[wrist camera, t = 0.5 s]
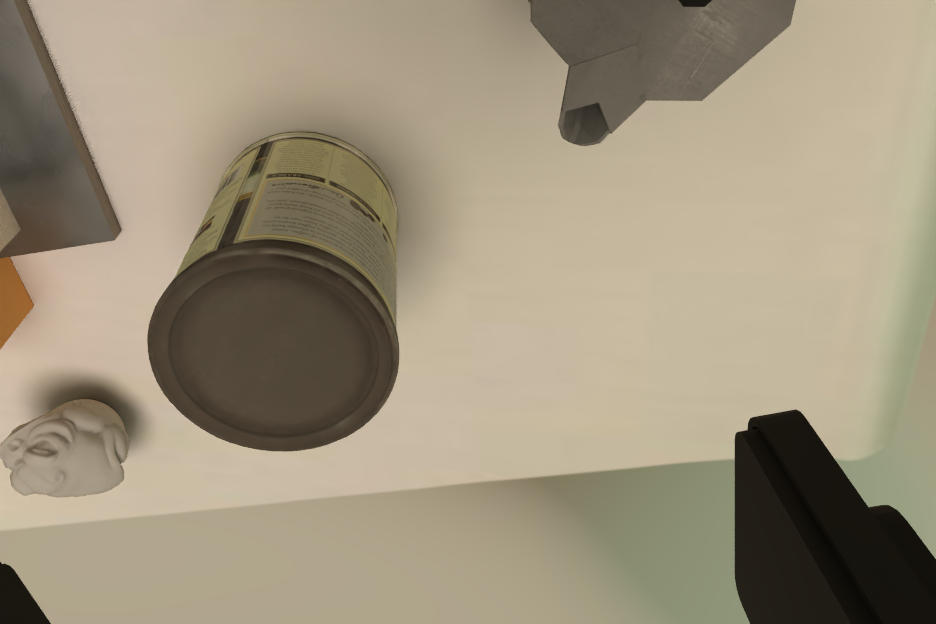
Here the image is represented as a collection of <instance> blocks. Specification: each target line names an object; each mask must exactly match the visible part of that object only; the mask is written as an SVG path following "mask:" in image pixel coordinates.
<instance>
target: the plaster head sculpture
mask: <svg viewBox="0 0 936 624" xmlns="http://www.w3.org/2000/svg"><path fill="white" fill-rule="evenodd" d="M128 449H129V437H128V435H127V433H126V431H125V427H124V424H123V422H122V420H121V418H120V417H119V415H118V414H117V413H116V412H115V411H114V410H113V409H112V408H111V407H109V406H108V405H106V404H104V403H102V402H99V401H96V400H90V399H78V400H73V401H69V402H66V403H64V404H62V405H60V406H58V407H57V408H55V409H54V410H52V411H50V412H48V413H46V414H44V415H42V416H40V417H38V418H36V419H33V420H31V421H30V422H28V423H25V424H23V425H20V426H18V427H17V428H16V429H14V430H13V431H12V433H11V434H10V435H9V436H8V437H7V438H6V439H5V440H4V441H3V442H2V443H1V445H0V458H1V459H2V460H3V463H4V465H5V467H6V468H9V469H11V470H12V472H11V475H10V479H11V485H12V487H13V488H14V489H15V490H16V491H17V492H19V493H20V494H22V495H25V496H26V495H30V494H33V493H34V494H45V495H48V496H52V497H78V496H86V495H93V494H99V493H103V492H106V491H108V490H111V489H113V488H114V487H116V486H117V485H119V484H120V483H121V482H122V481H123V479H124V471H123V468H122V466H121V463H122V462H124V461H125V460H126V458H127V454H128Z"/></svg>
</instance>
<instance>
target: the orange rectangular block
mask: <svg viewBox="0 0 936 624" xmlns="http://www.w3.org/2000/svg"><path fill="white" fill-rule="evenodd" d="M33 306H34V305H33V303H32V301H31V299H30V297H29V295H28V293H27V291H26V289H25V287H24V285H23V283H22V281H21V279H20V277H19V275H18V273H17V271H16V269H15V267H14V265H13V263H12V261H11V259H10V257H5V258H0V349H1V348H2V346H3V345H4V344H5V343H6V341H7V340H8V339H9V337H10V336H11V335H12V333H13V332H14V331H15V330H16V328H17V327H18V326H19V324H20V323H21V322H22V320H23V319H24V318H25V317H26V315H27V314H28V313H29V311H30V310H31V309H32V307H33Z"/></svg>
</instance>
